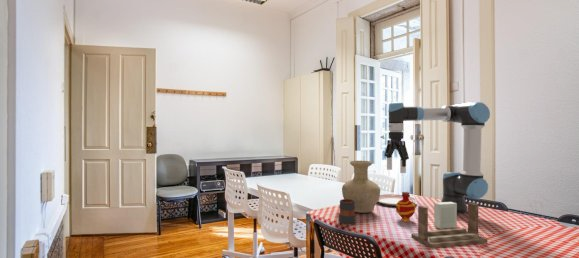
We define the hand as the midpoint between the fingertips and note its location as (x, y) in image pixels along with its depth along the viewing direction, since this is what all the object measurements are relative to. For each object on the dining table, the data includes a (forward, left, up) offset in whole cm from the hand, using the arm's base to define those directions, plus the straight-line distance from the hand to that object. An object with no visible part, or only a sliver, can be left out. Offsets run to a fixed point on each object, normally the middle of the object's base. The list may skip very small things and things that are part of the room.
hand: (396, 171), depth 173 cm
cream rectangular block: (-20, +14, -27) cm, 36 cm away
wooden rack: (-8, +31, -27) cm, 42 cm away
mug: (+25, -5, -27) cm, 38 cm away
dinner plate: (-23, -39, -27) cm, 53 cm away
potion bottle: (-7, -1, -27) cm, 28 cm away
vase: (+9, -23, -27) cm, 37 cm away
